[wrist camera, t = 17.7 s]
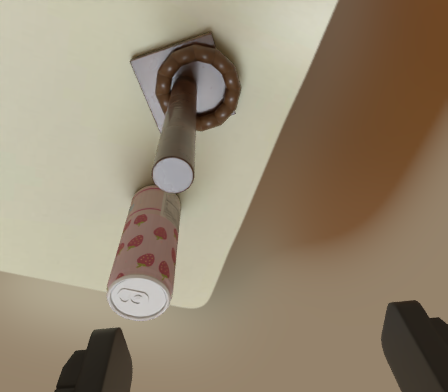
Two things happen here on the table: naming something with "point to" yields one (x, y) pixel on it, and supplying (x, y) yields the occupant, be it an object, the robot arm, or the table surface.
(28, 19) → the table surface
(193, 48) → the ring
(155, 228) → the beverage can
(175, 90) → the post
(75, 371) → the robot arm
